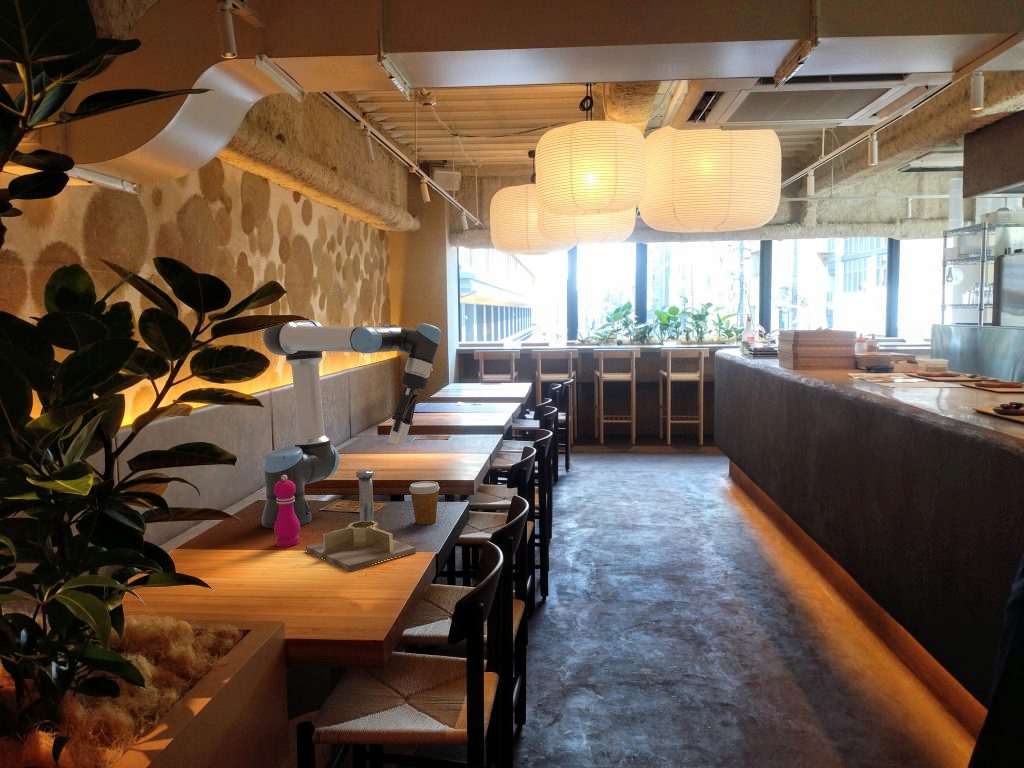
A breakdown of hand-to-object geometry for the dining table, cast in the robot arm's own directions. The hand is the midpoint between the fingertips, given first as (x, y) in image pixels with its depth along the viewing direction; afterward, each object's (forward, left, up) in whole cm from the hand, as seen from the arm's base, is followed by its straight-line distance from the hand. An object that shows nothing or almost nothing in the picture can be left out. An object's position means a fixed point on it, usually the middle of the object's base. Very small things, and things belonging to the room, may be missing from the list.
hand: (396, 443), depth 211 cm
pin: (-8, -6, -27) cm, 28 cm away
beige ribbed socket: (+10, -19, -25) cm, 33 cm away
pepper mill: (-15, -28, -27) cm, 42 cm away
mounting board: (+8, -18, -27) cm, 33 cm away
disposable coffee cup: (-3, +12, -27) cm, 30 cm away
